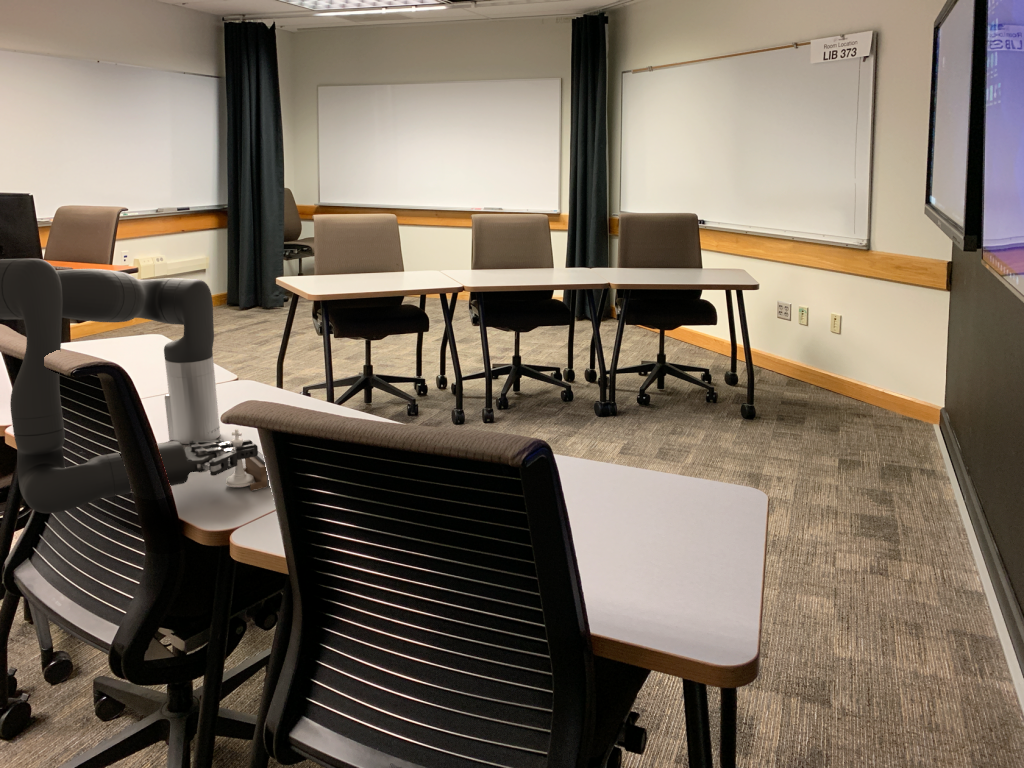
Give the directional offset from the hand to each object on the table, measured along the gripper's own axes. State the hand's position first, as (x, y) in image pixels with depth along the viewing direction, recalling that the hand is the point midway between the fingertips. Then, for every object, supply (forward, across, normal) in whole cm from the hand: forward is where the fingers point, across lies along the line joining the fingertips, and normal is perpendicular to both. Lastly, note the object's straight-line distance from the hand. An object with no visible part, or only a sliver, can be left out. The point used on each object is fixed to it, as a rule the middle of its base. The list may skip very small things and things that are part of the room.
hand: (254, 447), depth 159 cm
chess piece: (-3, 0, +6) cm, 7 cm away
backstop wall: (+1, 0, +7) cm, 7 cm away
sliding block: (0, 0, +7) cm, 7 cm away
